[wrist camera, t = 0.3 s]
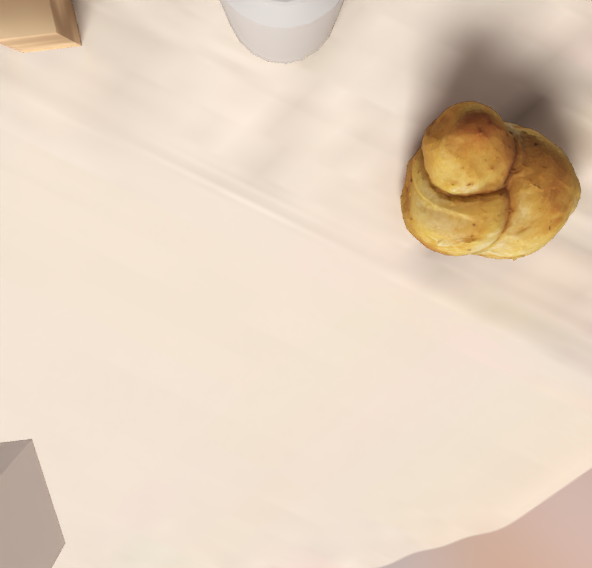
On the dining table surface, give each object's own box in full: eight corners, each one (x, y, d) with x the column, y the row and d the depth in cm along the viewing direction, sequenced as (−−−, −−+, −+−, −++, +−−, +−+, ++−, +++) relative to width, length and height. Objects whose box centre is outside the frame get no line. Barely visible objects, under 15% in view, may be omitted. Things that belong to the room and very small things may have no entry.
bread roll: (578, 152, 35) (662, 152, 27) (526, 273, 37) (589, 304, 30) (417, 101, 33) (457, 86, 26) (374, 230, 36) (399, 251, 28)
